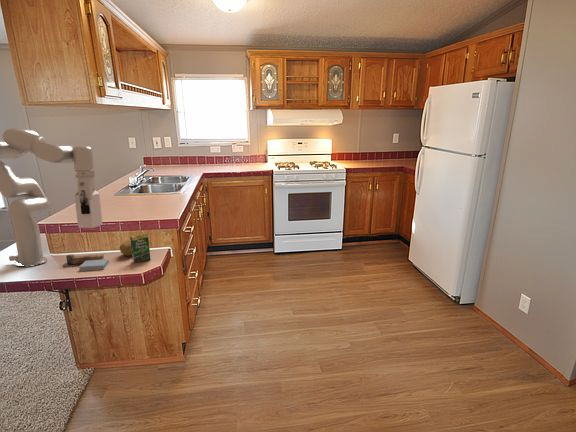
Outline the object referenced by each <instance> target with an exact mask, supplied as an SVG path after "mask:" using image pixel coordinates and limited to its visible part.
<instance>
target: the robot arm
mask: <svg viewBox="0 0 576 432" xmlns="http://www.w3.org/2000/svg"><path fill="white" fill-rule="evenodd" d="M28 153H32V154H33V155H34V156H35V157H36V158H38V159H41V160H42V161H46V162H50V163H53V164H66V163H67V164H69V163H73V166H74V176H75V177H74V178H75V179H77V192H78V195H79V199H80V205H81V214H90V210H89V205H88V199H90V200H92V194H93V193H94V191H95V190H96V191H97V187H96V183H95V182H96V181H95V178H96V176H95V165H94V155H93V148H91V147H90V146H87V145H85V146H84V145H81V146H79V145H78V146H77V145H75V146H74V145H55V144H50V143H48V142H47V139H46V138H45V137H43V136H42V135H40V134H39V133H38V132H36V131H35V130H33V129H29V128H16V127H15V128H14V127H13V128H12V127H11V128H8V129H6V130H4V131H3V133H2V139H1V140H0V194H1V195H2V196H3V197H4V198H6V199H15V200H13V201H10V203H9V204H8V207H7V211H8V215H9V217H10V220H11V222H12V225H13V230H14V231H13V232H14V239H15V245H16V251H17V255H9V257H8V260H9V261H10V262H14V261H15V263H16V262H18V263H21V264H22V265H24V266H30V265H36V266H39V265H38V264H40V265H43V264H44V263H45V264H46V263H47V262H48V260H49V259H48V258H47V257H45V256H44V253H43V252H44V251H43V246H42V245H43V244H42V237H41V232H40V226H39V223H38V222H37V221H36V220H35V219H34V218H36V217H40V216H44V215H46V214H48V213H49V212H50V211H51V203H50V201H49V199H48V198H47V197H48V196H47V195H45V193H44V191H43V190H42V188H41V186H40V184H39V183H38V182H37V181H36V180H35V179H33V177H29V176H28V177H27V176H24V177H23V176H22V177H21V176H20V177H18V176H17V175H16V174H15V172H14V171H13V169H12V168H11V167H10V165H8V164H7V163H5V162H3V160H1V159H4V160H6V159H7V160H8V159H19V158H21V157H23V156H24V155H25V156H26V154H28ZM84 195H86V197H87V198H84ZM85 200H86V201H85ZM42 263H43V264H42Z"/></svg>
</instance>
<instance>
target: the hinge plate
mask: <svg viewBox="0 0 576 432" xmlns="http://www.w3.org/2000/svg"><path fill="white" fill-rule="evenodd" d="M78 265H81V263H77V264H70V265H68V264H67V262H66V263H63V264H62V267H64V266H65V267H66V268H70V267H75V266H78ZM65 267H64V268H65Z"/></svg>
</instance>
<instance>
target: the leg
mask: <svg viewBox="0 0 576 432" xmlns="http://www.w3.org/2000/svg"><path fill="white" fill-rule="evenodd" d="M65 258H66V263H67V264H68V265H70V264H77V263H80V264H83V263H84V262H85V261H86V260H102V259H105V256H104V254H92V255H91V254H90V255H89V254H88V255H78V256H75V254H67V255H66V257H65Z"/></svg>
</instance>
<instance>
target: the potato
mask: <svg viewBox="0 0 576 432" xmlns="http://www.w3.org/2000/svg"><path fill="white" fill-rule="evenodd" d="M119 252H120V253H121V254H122V255H125V256H128V257H130V256H132V248H131V239H127V240H124V241H122V242H121V243H120V245H119Z"/></svg>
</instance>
